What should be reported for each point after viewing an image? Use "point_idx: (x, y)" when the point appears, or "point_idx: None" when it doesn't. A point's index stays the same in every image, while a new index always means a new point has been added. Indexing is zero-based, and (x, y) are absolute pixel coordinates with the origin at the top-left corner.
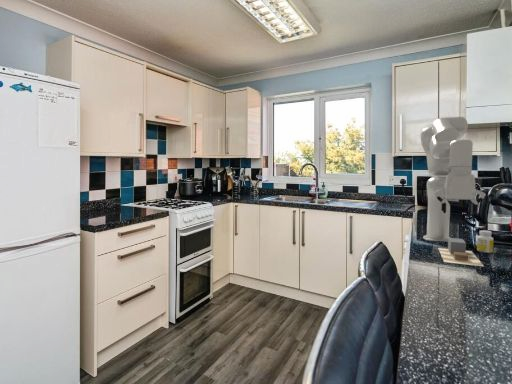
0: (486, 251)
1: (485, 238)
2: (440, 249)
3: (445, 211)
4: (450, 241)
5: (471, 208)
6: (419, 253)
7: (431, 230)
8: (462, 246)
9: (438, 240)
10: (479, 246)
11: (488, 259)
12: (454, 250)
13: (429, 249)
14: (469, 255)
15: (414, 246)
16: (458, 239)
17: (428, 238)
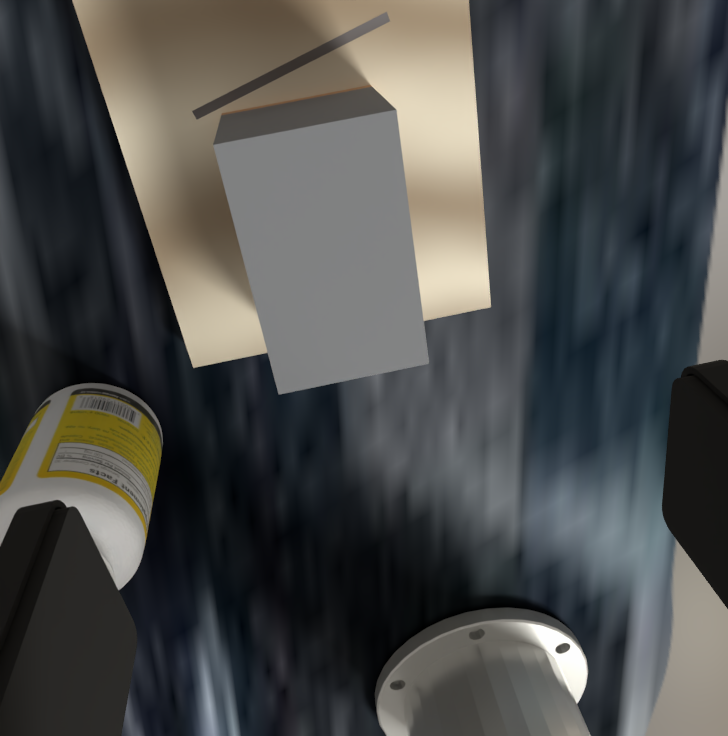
0: (65, 406)
1: (44, 494)
2: (468, 253)
3: (706, 388)
4: (401, 156)
5: (99, 725)
6: (657, 84)
7: (559, 708)
8: (253, 125)
9: (477, 620)
10: (124, 439)
11: (33, 256)
12: (336, 99)
13: (551, 324)
14: (185, 150)
15: (674, 359)
16: (317, 332)
17: (553, 629)
